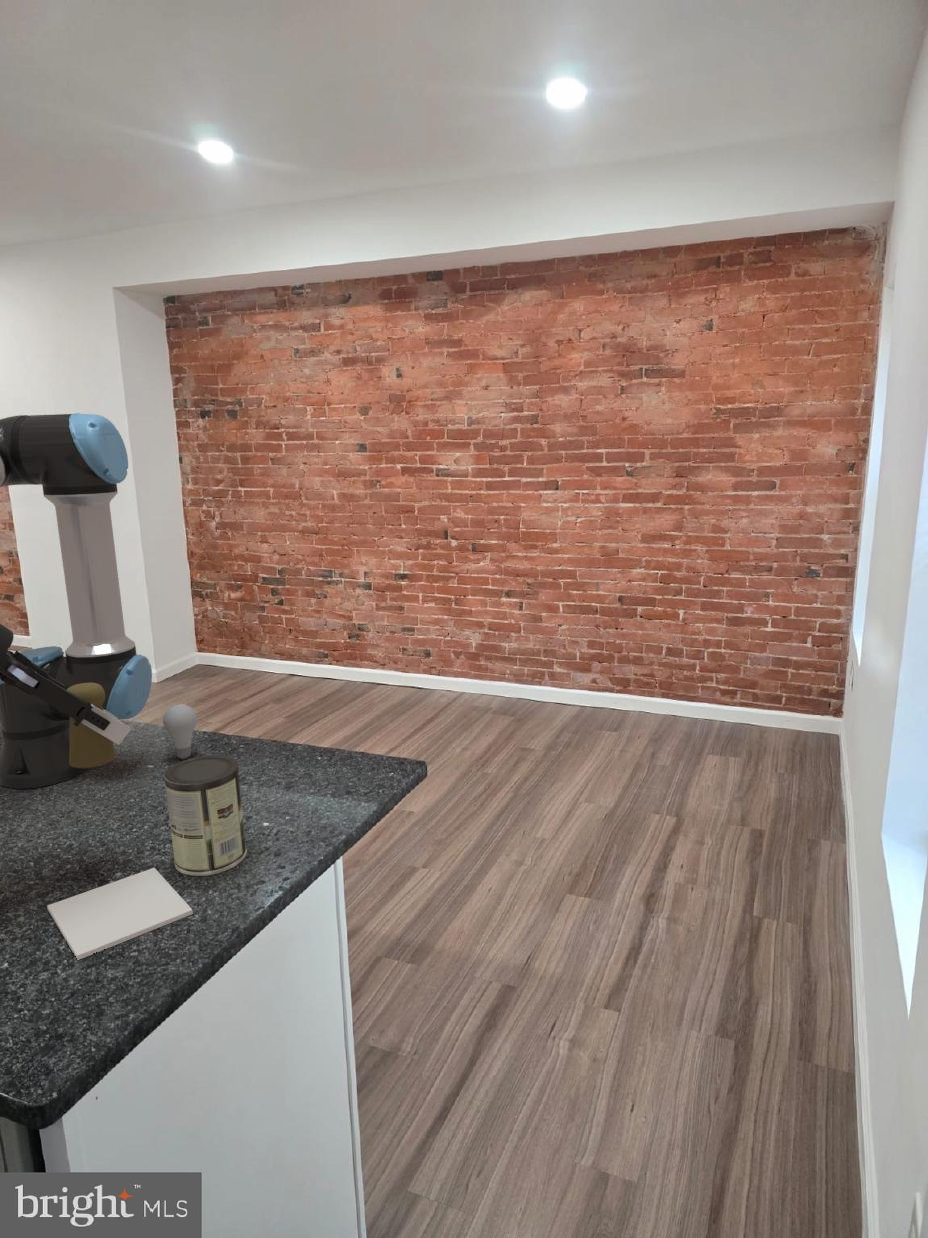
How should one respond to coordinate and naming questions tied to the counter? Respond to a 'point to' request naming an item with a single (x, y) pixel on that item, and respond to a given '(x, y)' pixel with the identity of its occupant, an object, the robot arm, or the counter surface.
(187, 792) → the coffee can
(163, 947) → the counter surface
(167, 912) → the white pad
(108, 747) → the cork
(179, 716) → the lightbulb
